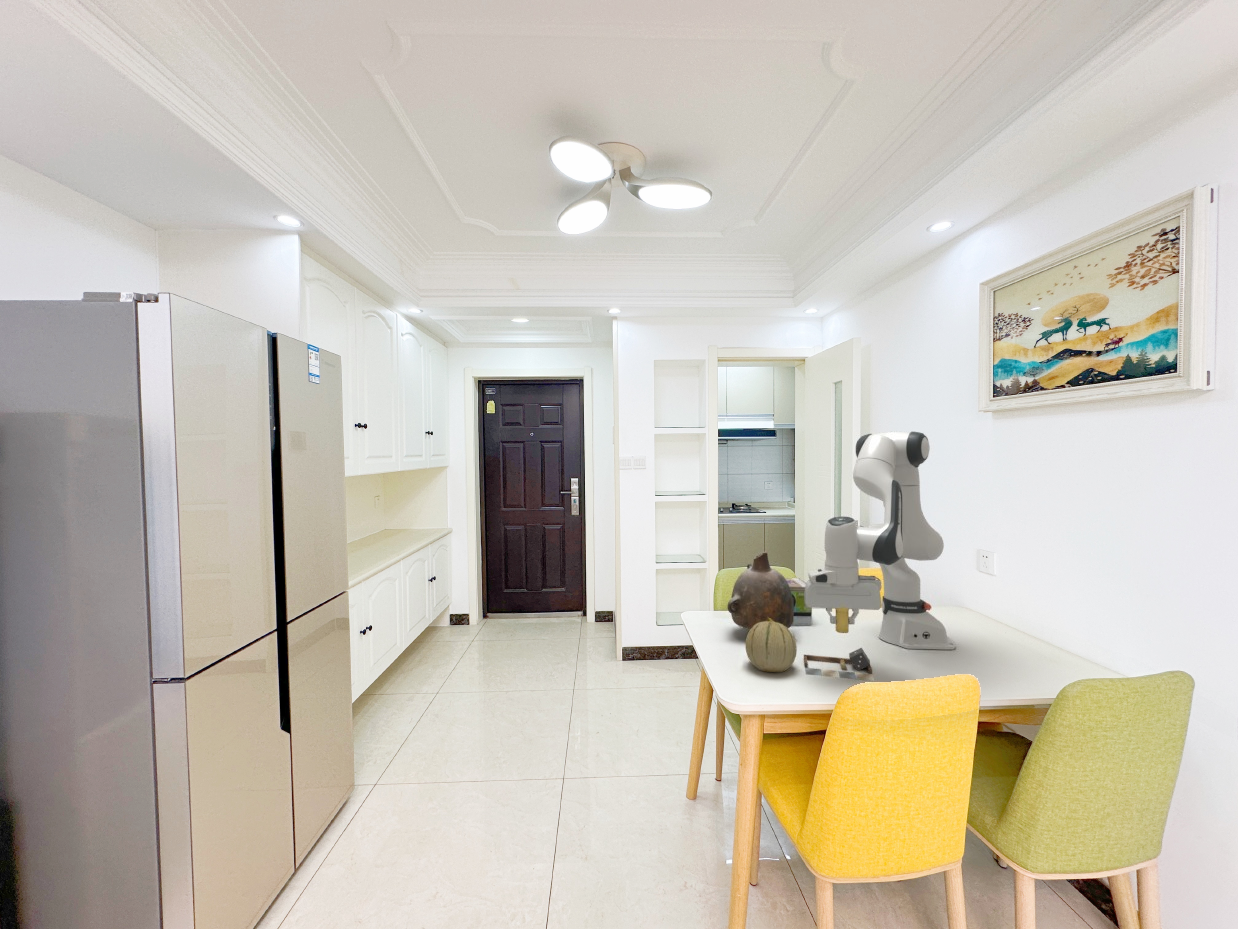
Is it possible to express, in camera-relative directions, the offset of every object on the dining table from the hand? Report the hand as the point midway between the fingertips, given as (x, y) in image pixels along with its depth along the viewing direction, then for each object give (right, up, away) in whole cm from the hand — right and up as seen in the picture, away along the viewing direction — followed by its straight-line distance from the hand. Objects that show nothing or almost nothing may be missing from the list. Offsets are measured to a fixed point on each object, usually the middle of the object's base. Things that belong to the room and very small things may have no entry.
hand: (842, 623), depth 152 cm
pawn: (0, -2, 0) cm, 2 cm away
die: (+5, -13, +5) cm, 15 cm away
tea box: (+4, -15, +54) cm, 57 cm away
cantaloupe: (-19, -16, +6) cm, 25 cm away
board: (0, -16, +3) cm, 16 cm away
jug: (-13, -15, +37) cm, 42 cm away
